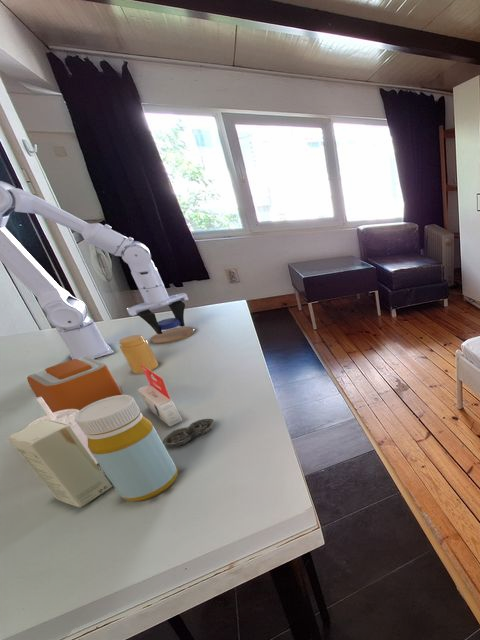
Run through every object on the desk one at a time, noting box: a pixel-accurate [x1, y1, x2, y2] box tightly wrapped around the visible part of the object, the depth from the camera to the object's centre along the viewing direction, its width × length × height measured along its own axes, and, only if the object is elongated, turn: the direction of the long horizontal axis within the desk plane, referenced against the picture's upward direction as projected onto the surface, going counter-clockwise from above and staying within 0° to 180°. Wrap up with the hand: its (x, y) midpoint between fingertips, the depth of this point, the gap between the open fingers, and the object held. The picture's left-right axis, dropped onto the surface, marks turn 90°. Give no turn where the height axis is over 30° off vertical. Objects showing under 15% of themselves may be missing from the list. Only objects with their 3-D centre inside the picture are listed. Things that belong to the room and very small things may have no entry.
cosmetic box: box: [6, 419, 113, 508], centre depth 53 cm, size 6×4×12 cm
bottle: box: [75, 394, 179, 502], centre depth 53 cm, size 7×7×15 cm
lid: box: [157, 317, 181, 331], centre depth 109 cm, size 6×6×2 cm
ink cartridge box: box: [137, 365, 183, 427], centre depth 71 cm, size 2×11×10 cm, turn 56°
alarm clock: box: [26, 357, 124, 413], centre depth 69 cm, size 15×8×14 cm, turn 62°
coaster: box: [149, 326, 196, 344], centre depth 111 cm, size 11×11×1 cm
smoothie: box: [25, 397, 99, 465], centre depth 58 cm, size 6×6×14 cm
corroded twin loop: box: [162, 418, 214, 447], centre depth 67 cm, size 5×8×1 cm, turn 140°
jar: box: [118, 334, 159, 374], centre depth 90 cm, size 5×5×8 cm
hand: (170, 329), depth 110 cm, fingers closed on lid, 5 cm apart
